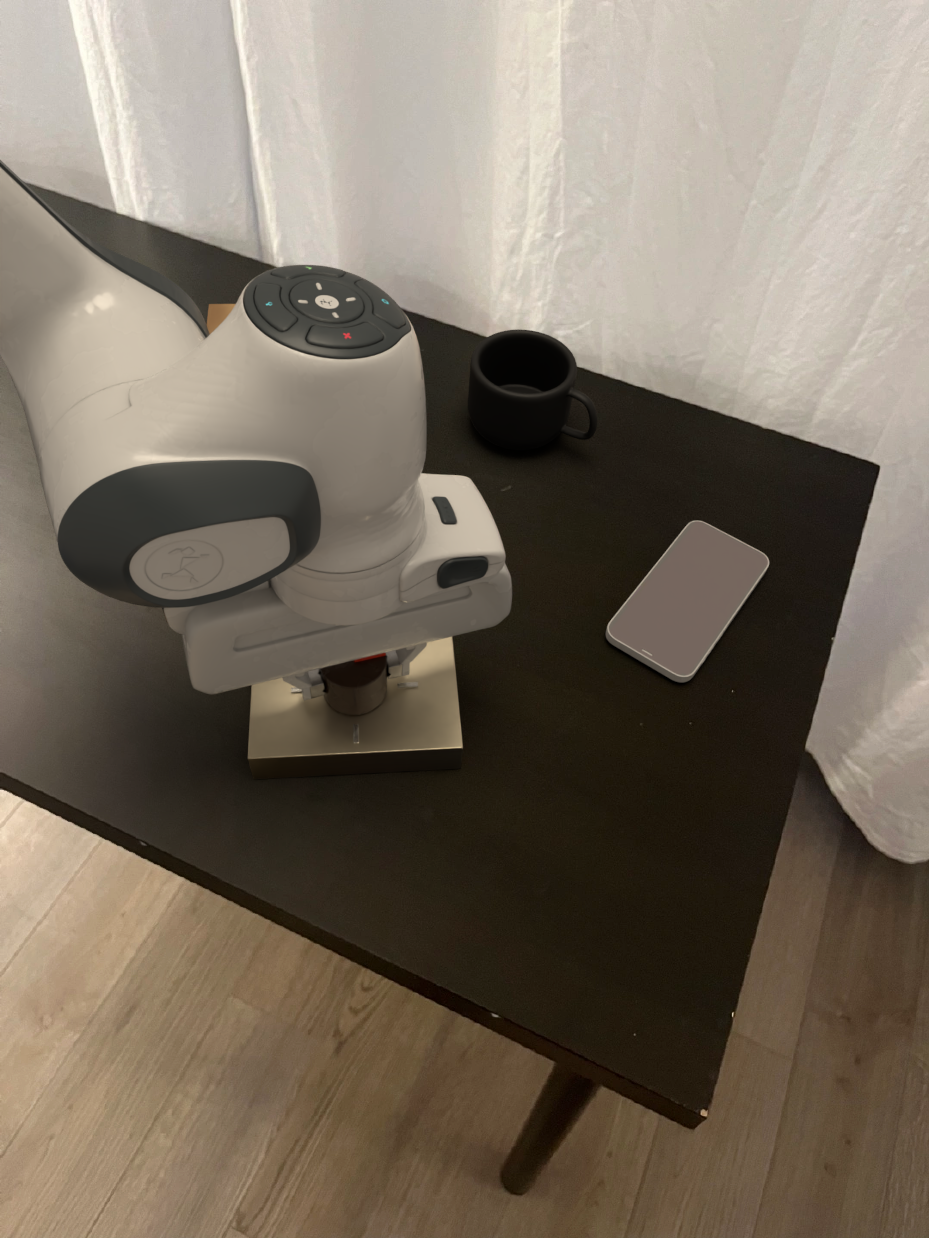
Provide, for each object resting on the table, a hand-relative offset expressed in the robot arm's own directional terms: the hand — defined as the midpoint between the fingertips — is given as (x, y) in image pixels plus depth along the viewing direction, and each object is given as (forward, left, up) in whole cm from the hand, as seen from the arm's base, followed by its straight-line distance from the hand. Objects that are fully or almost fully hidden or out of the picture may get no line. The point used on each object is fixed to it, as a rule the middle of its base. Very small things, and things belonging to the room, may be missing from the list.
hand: (354, 679), depth 64 cm
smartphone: (+26, +9, -4) cm, 28 cm away
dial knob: (0, 0, -1) cm, 1 cm away
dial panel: (0, 0, -4) cm, 4 cm away
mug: (+16, +28, -4) cm, 33 cm away
